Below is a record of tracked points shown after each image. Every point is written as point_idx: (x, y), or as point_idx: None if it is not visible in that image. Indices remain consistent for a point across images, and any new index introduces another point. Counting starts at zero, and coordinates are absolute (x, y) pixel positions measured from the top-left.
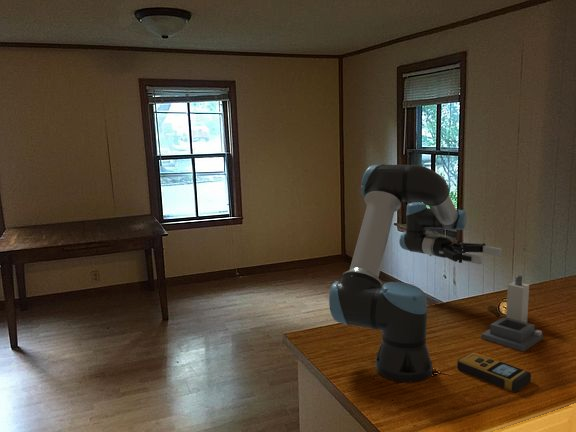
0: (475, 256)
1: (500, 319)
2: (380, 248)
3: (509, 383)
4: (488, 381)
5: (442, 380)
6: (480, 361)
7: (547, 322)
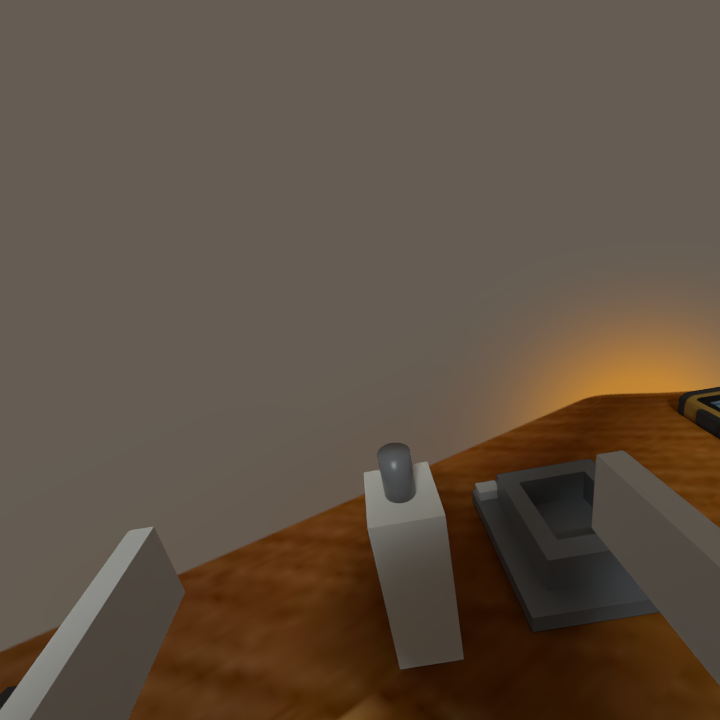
0: (683, 509)
1: (588, 550)
2: None
3: None
4: None
5: None
6: None
7: (339, 559)
